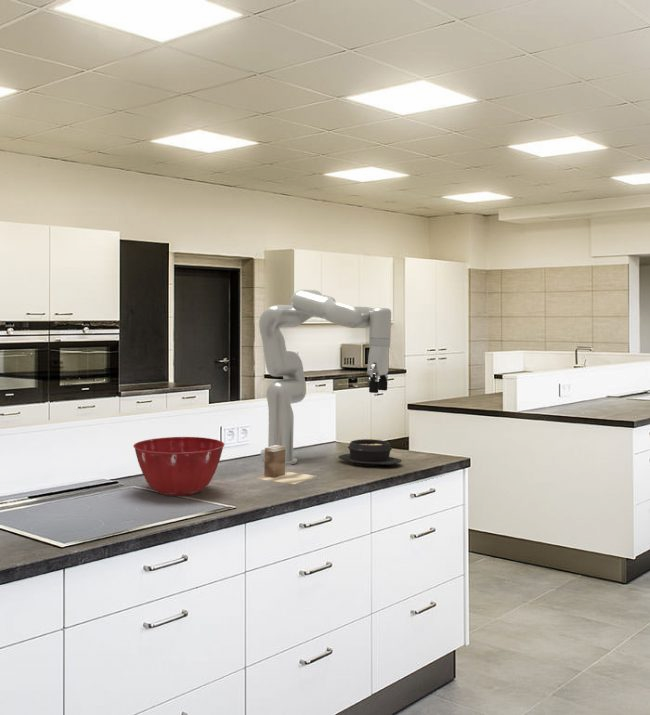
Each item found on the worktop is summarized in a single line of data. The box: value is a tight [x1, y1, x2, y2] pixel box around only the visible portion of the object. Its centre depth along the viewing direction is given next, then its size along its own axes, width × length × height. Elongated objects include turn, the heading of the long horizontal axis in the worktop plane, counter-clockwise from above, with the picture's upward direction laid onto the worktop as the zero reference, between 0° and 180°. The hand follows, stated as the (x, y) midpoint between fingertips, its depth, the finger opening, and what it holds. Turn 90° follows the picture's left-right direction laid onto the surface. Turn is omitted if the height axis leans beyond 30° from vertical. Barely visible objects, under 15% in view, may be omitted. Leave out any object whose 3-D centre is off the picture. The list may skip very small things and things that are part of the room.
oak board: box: [254, 471, 318, 485], centre depth 285 cm, size 16×16×1 cm
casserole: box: [338, 438, 402, 467], centre depth 315 cm, size 25×19×8 cm
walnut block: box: [263, 445, 286, 478], centre depth 287 cm, size 4×7×10 cm, turn 150°
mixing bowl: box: [132, 436, 225, 497], centre depth 262 cm, size 28×28×16 cm
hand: (378, 391), depth 290 cm, fingers open, 9 cm apart
